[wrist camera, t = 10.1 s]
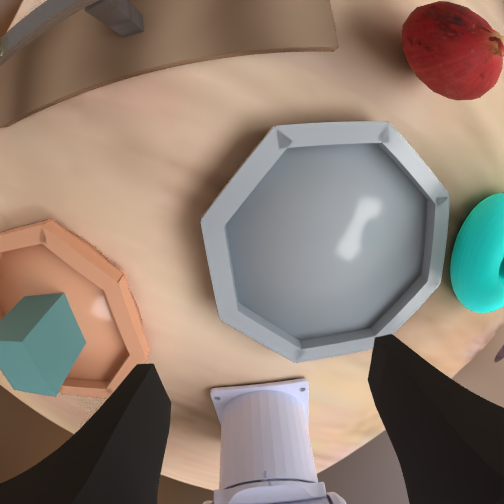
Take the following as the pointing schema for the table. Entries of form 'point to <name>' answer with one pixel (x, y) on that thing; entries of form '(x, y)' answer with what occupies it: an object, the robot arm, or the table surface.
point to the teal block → (39, 343)
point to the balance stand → (153, 44)
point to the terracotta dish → (77, 301)
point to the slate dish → (326, 238)
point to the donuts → (480, 257)
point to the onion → (453, 50)
